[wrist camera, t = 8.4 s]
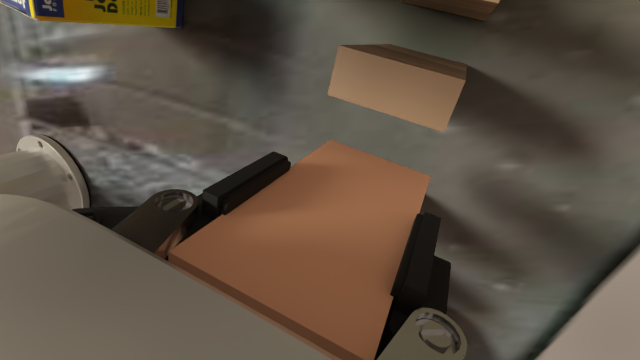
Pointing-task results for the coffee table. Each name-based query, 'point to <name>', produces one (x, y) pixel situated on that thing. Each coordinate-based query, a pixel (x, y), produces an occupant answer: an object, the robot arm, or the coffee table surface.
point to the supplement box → (103, 11)
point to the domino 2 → (398, 82)
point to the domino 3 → (459, 6)
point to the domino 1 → (316, 247)
